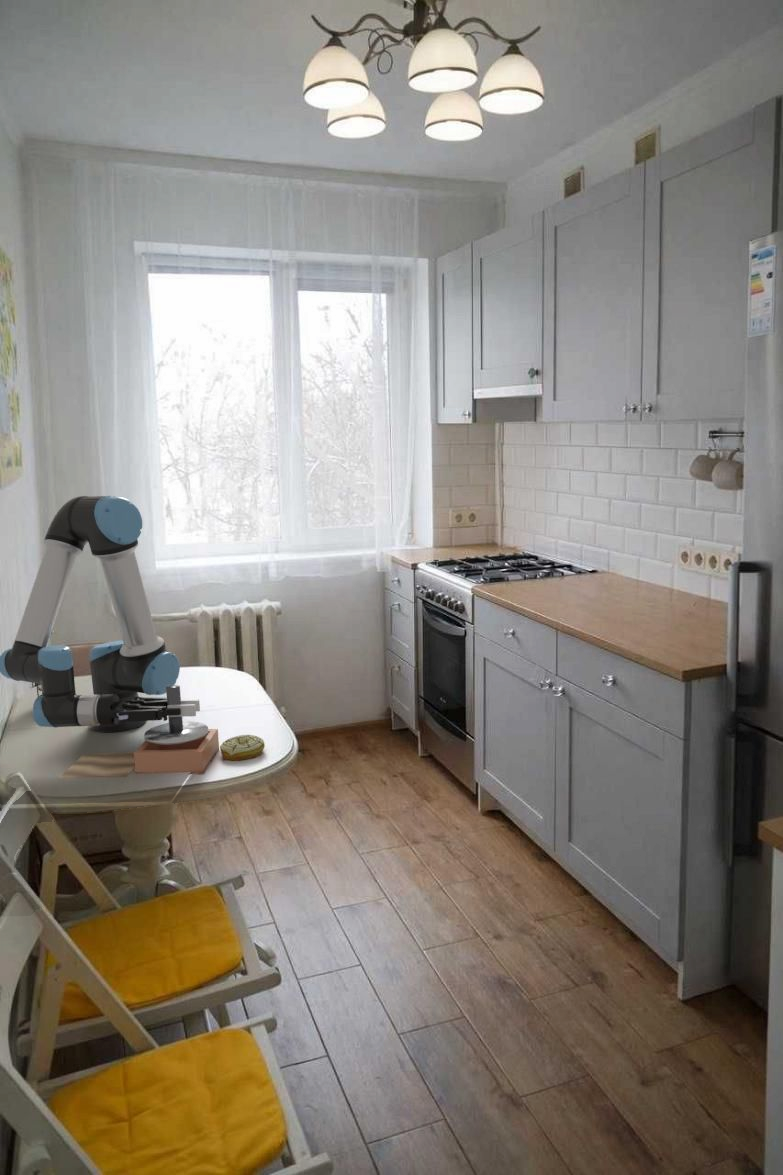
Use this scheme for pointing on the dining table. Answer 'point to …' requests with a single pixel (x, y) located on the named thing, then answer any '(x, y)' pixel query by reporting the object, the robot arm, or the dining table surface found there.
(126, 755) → the trivet
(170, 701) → the lid
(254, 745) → the decorated donut
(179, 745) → the terracotta square tray
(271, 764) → the dining table surface
